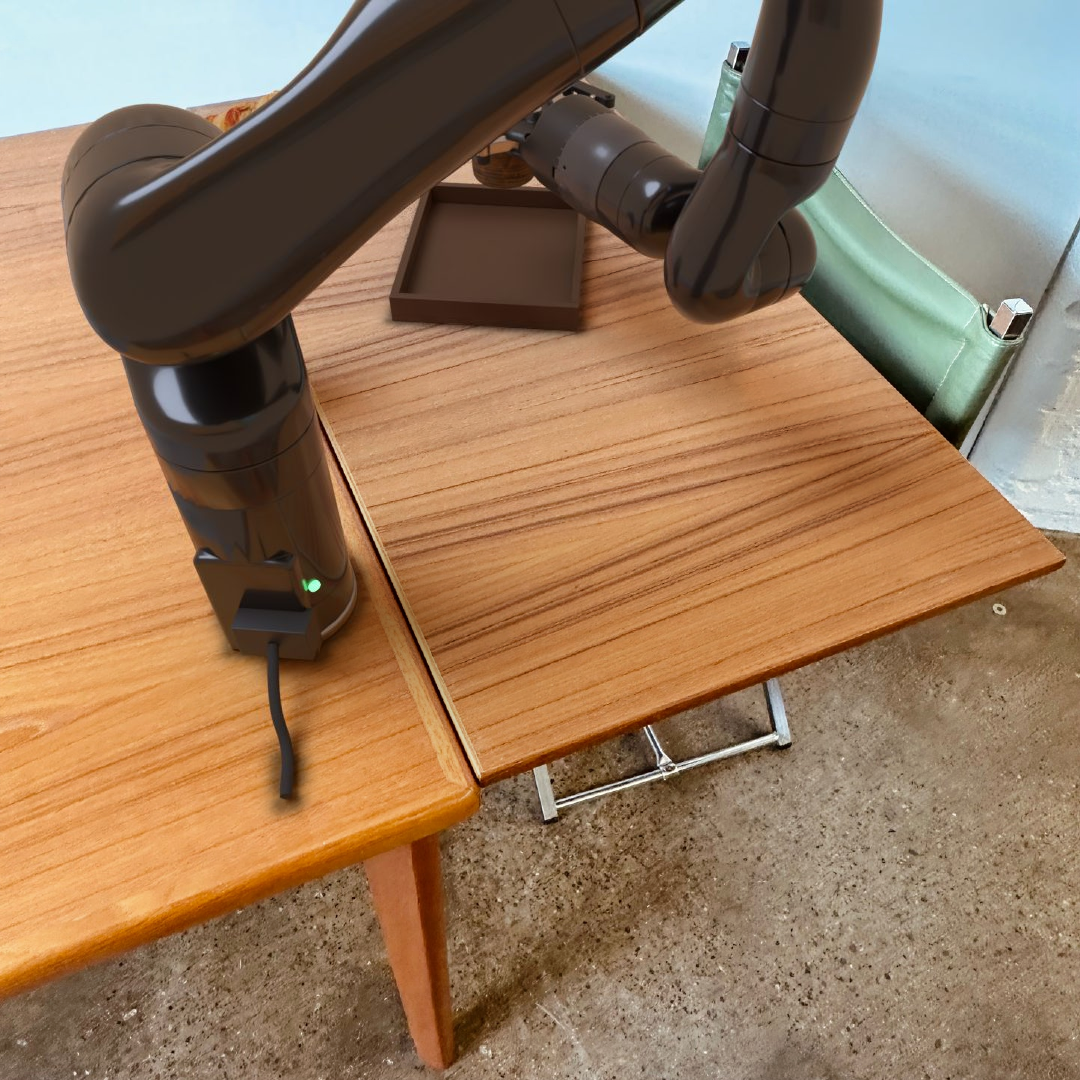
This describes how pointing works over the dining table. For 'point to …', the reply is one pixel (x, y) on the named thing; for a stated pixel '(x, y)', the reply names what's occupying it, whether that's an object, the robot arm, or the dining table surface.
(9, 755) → the dining table surface
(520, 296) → the tray
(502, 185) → the utensil holder
